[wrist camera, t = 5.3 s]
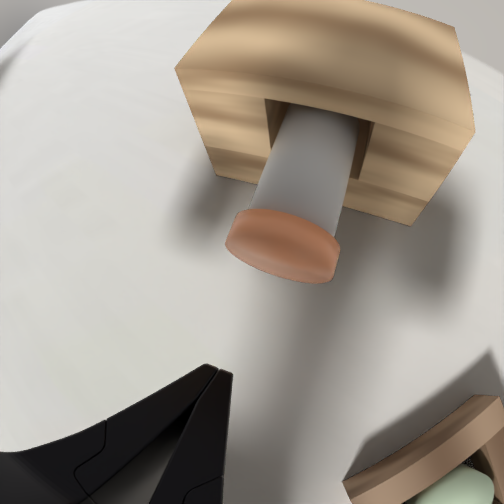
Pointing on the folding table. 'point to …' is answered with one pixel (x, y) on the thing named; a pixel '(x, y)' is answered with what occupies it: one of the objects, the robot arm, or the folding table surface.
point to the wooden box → (334, 92)
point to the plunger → (299, 198)
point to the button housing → (438, 456)
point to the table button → (457, 488)
